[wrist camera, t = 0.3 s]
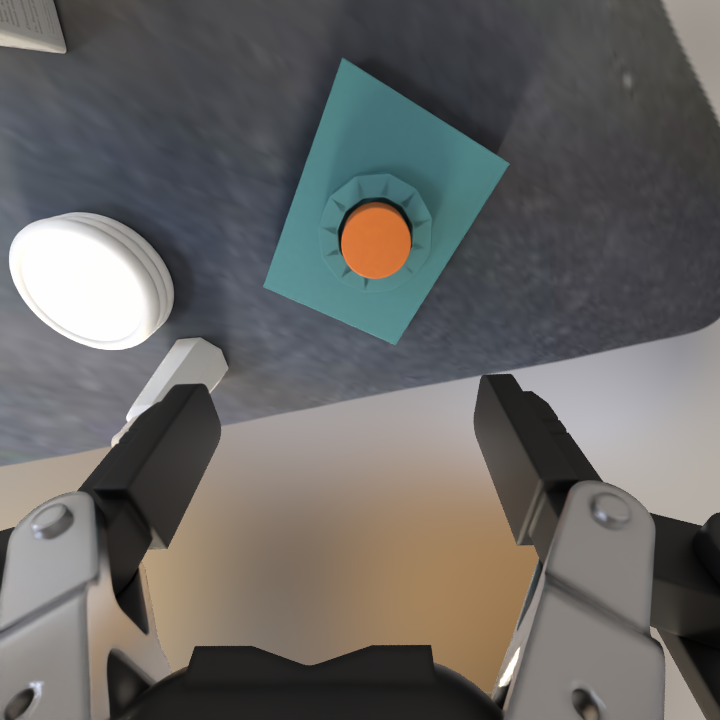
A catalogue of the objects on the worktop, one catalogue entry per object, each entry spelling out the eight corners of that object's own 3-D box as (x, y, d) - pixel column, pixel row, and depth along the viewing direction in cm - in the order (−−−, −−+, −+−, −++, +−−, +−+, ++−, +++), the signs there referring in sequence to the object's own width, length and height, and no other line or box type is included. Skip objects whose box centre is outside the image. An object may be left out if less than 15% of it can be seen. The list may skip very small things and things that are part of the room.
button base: (345, 67, 20) (340, 48, 16) (494, 161, 23) (523, 165, 19) (272, 273, 27) (255, 297, 23) (392, 328, 30) (397, 358, 25)
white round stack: (194, 263, 27) (173, 278, 24) (155, 351, 31) (133, 372, 28) (57, 180, 24) (13, 185, 21) (34, 290, 28) (-4, 308, 25)
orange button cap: (360, 189, 20) (360, 193, 18) (419, 221, 21) (424, 228, 19) (332, 251, 22) (330, 261, 20) (388, 278, 23) (390, 290, 21)
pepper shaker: (168, 328, 30) (81, 412, 21) (231, 343, 31) (173, 431, 21) (170, 376, 33) (93, 469, 23) (227, 389, 34) (174, 484, 24)
